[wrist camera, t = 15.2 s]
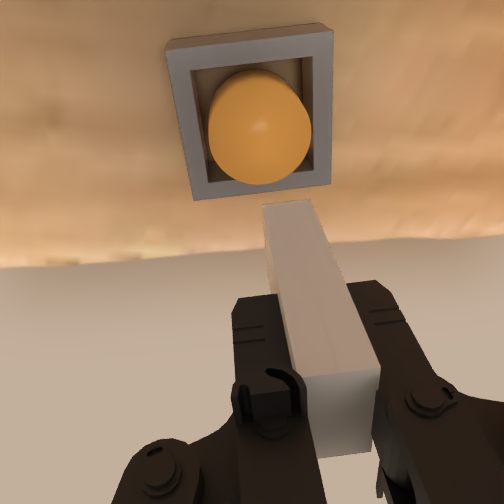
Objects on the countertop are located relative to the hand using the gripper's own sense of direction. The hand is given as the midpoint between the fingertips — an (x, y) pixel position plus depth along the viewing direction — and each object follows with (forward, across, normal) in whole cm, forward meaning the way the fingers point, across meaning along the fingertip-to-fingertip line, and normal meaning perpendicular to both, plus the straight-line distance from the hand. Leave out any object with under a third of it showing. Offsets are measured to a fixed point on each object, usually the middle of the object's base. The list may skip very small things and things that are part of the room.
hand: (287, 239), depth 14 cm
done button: (+12, 0, 0) cm, 12 cm away
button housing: (+14, 0, 0) cm, 14 cm away
